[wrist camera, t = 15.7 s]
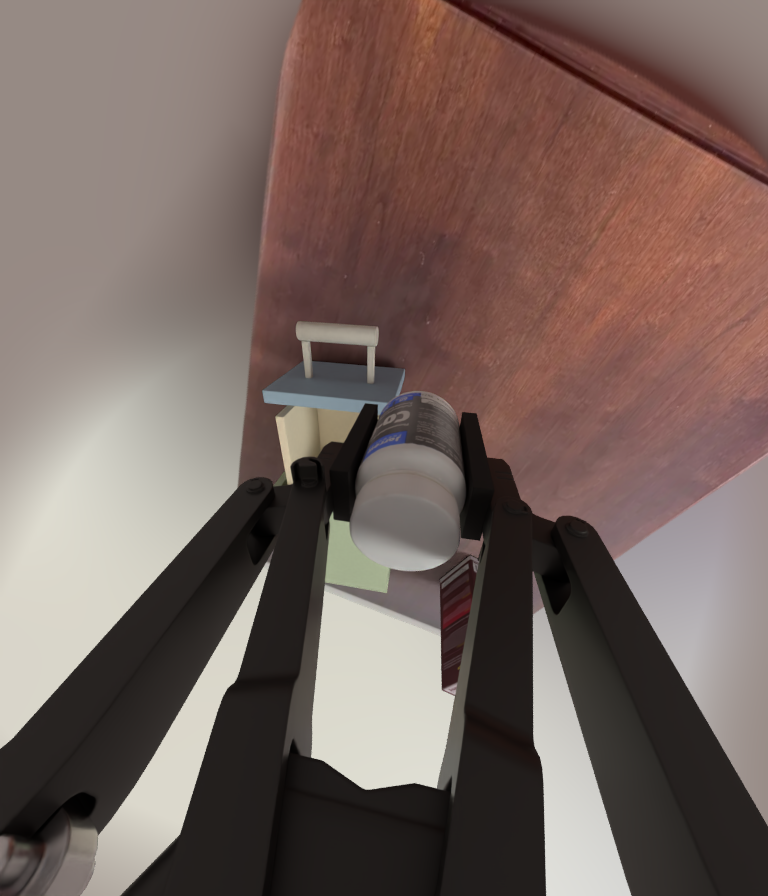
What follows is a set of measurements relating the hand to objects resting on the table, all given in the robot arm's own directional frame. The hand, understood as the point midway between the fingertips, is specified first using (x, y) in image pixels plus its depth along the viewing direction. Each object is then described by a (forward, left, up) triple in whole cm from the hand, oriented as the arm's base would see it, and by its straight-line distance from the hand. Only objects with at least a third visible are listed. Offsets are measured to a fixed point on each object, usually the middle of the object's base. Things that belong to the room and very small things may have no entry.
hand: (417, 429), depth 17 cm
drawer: (-1, -10, -16) cm, 19 cm away
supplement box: (+33, -16, -17) cm, 40 cm away
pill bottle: (0, 0, -1) cm, 1 cm away
